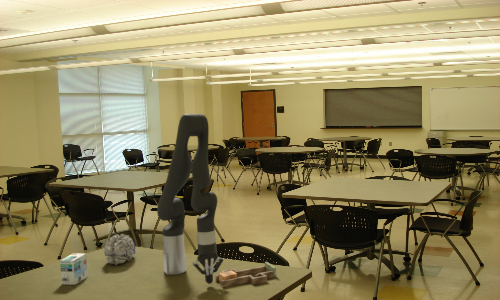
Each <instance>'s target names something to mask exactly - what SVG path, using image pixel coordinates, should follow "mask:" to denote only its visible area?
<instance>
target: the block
mask: <svg viewBox="0 0 500 300" xmlns="http://www.w3.org/2000/svg"><path fill="white" fill-rule="evenodd" d="M218 274H219V281H218V282H219V284H221V280H227V279H232V278H237V273H235V272H233V271H232V270H231V271H226V272H222V273H221V272H219V273H218Z"/></svg>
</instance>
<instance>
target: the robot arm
mask: <svg viewBox="0 0 500 300" xmlns="http://www.w3.org/2000/svg"><path fill="white" fill-rule="evenodd" d="M208 121H209V120H208V118H207V116H206V115H205V114H203V113H184V114H182V115H181V117H180V119H179V123H178V126H177V134H176V139H175V144H174V149H173V152H172V157H171V160H170V163H169V168H168V172H167V173H168V174H167V176H166V180H165V184H164V186H163V191H162V192H161V195H160V199H159V201H158V203H157V206H156V207H157V208H156V211H157V212H156V213H157V214H156V215H157V216H158V218H159V220H161V221H162V222H163V221H164V222H165V221H169V223H168V224H166V225H165V226H164V227H163V228H162V240H163V241H162V245H163V250H162V262H163V272H164V273H165V274H166V275H167V276H168V275H169V276H173V275H180V274H183V273H185V272H186V269H187V268H186V267H187V266H186V254H185V253H186V251H185V233H184V230H185V205H184V202H183V200H182V199H181V198H179V197H176V195H177V194H178V193H179V192H180V191H181V189H182V188H183V187H184V186H185V184H186V183H188V180H189V179H190V176H191V175H192V193H191V198H190V206H191V208H192V209H193V211H195V212H202V211H206V212H205V213H204V214H203V215H200V216H198V217H197V218H196V230H197V233H196V240H197V243H196V244H197V254H198V255H197V257H196V260H195V261H194V262H193V261H192V266H194V268H195V269H197V271H198V272H199V273H201V275H204V281H205V283H207V284H208V285H209V284H212V283H213V282H214V276H213V275H214V273H217V272H218V271H219V268H220V266H221V265H222V263H223V261H224V259H223V258H222V257H219V255H218V253H217V252H218V251H217V238H216V237H217V235H216V231H215V218H216V217H215V215H216V211H217V207H218V197H217V195H216V193H215V192H213V191H206V192H201V189H203V188H206V187H208V186H210V185H211V175H210V168H209V166H210V165H209V133H210V131H209V130H210V129H209V122H208ZM190 137H196V138H197V149H196V152H195V154H194V156H193V160H192V157H191V154H190V152H189V148H188V146H189V145H188V144H189V140H190ZM200 266H202V267H203V269H202V268H201V267H200Z"/></svg>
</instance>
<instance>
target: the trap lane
mask: <svg viewBox="0 0 500 300" xmlns="http://www.w3.org/2000/svg"><path fill="white" fill-rule="evenodd" d="M231 270H232V271H233V272H235V273H237V278H232V279H227V280H221V283H220V284H221V287H222V288H227V287H231V286H232V287H233V286H236V285H237V286H238V285H242V284H246V283H250V284H251V285H252V286H254V285H259V284H263V283H268V279H271V278H277V267H276V266H274V265H273V264H272V263H269V262H268V261H265V262H264V265H261V266H256V267H251V268H246V269H241V270H238V269H237V268H231V269H230V268H229V269H224V270H220V273H222V272H226V271H231ZM253 275H254V276H253ZM214 277H215V282H216V283H217V282H219V273H218V274H215V276H214Z"/></svg>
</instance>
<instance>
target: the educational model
mask: <svg viewBox="0 0 500 300" xmlns="http://www.w3.org/2000/svg"><path fill="white" fill-rule="evenodd" d="M104 245H105V246H104V250H103V253H104V256H105V257H106V258H105V259H106V260H107V261H106V262H107V263H108V264H111V265H113V264H114V265H116V266H117V265H118V264H119V265H120V264H124V263H125V262H126V261H129V262H131V260H132V259H133V256H134V255H135V254H136V245H135V242H134V240H133V238H132V237H130V236H128V235H127V234H124V233H121V234H118V233H115V234H114V235H112V236H111V237H110V238H109V239H107V240H106V242H105V244H104Z"/></svg>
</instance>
